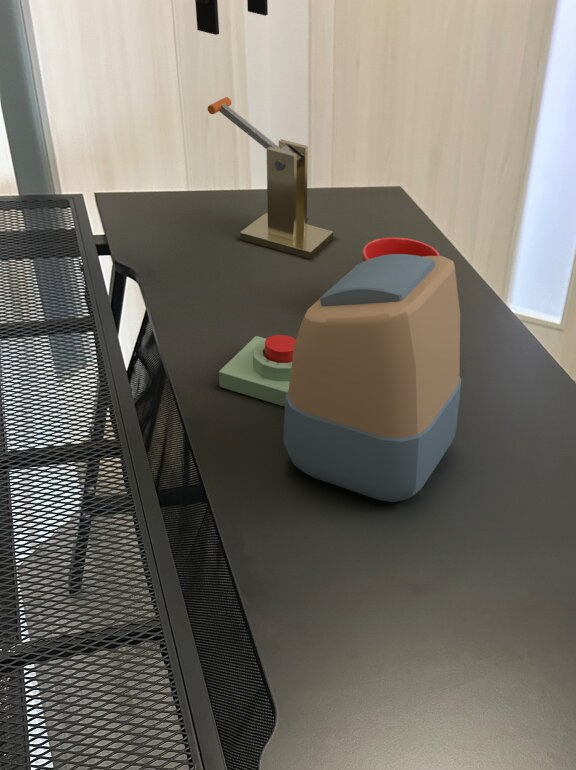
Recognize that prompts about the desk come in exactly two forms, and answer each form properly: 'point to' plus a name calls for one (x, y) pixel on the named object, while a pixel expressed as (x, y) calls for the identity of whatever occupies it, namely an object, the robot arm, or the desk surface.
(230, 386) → the button box
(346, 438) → the lidded trash bin
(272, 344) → the button
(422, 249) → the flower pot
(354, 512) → the desk surface
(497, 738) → the desk surface
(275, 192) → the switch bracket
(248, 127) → the switch lever
